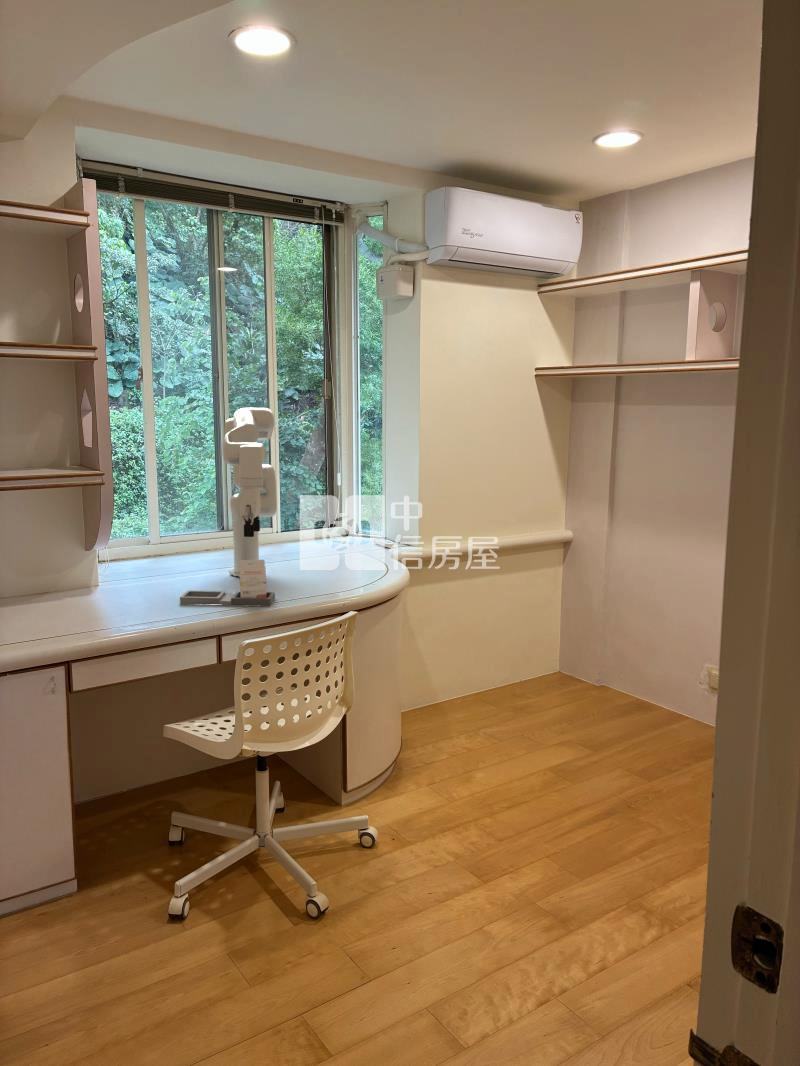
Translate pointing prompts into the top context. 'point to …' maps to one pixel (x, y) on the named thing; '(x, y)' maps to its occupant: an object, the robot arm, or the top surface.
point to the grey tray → (247, 599)
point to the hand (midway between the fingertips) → (252, 533)
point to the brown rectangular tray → (201, 597)
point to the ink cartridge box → (252, 579)
